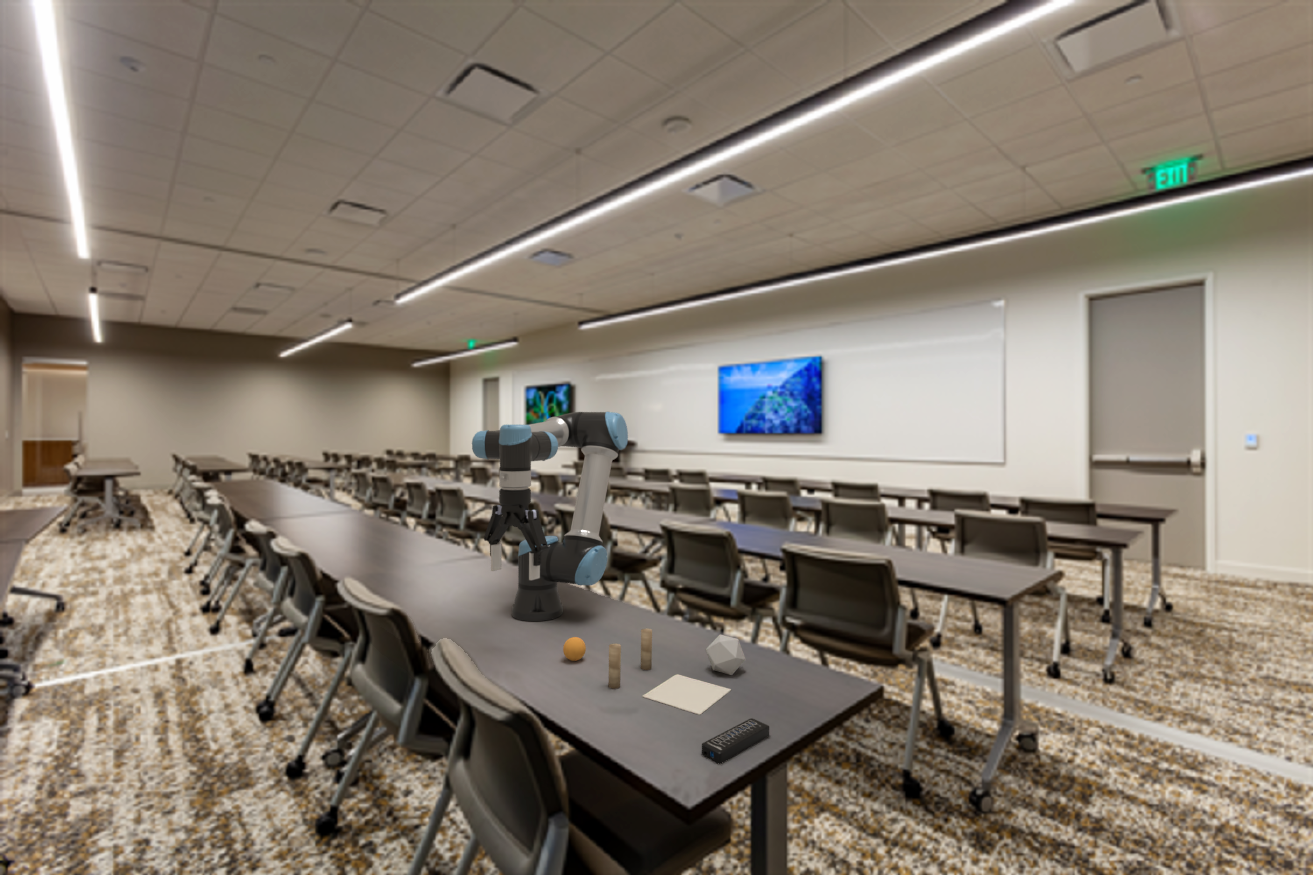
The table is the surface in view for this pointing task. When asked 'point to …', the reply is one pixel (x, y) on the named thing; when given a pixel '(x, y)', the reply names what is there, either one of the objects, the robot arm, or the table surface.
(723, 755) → the multiport hub
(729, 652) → the die
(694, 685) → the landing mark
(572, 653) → the ball
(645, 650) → the right post
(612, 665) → the left post
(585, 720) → the table surface
